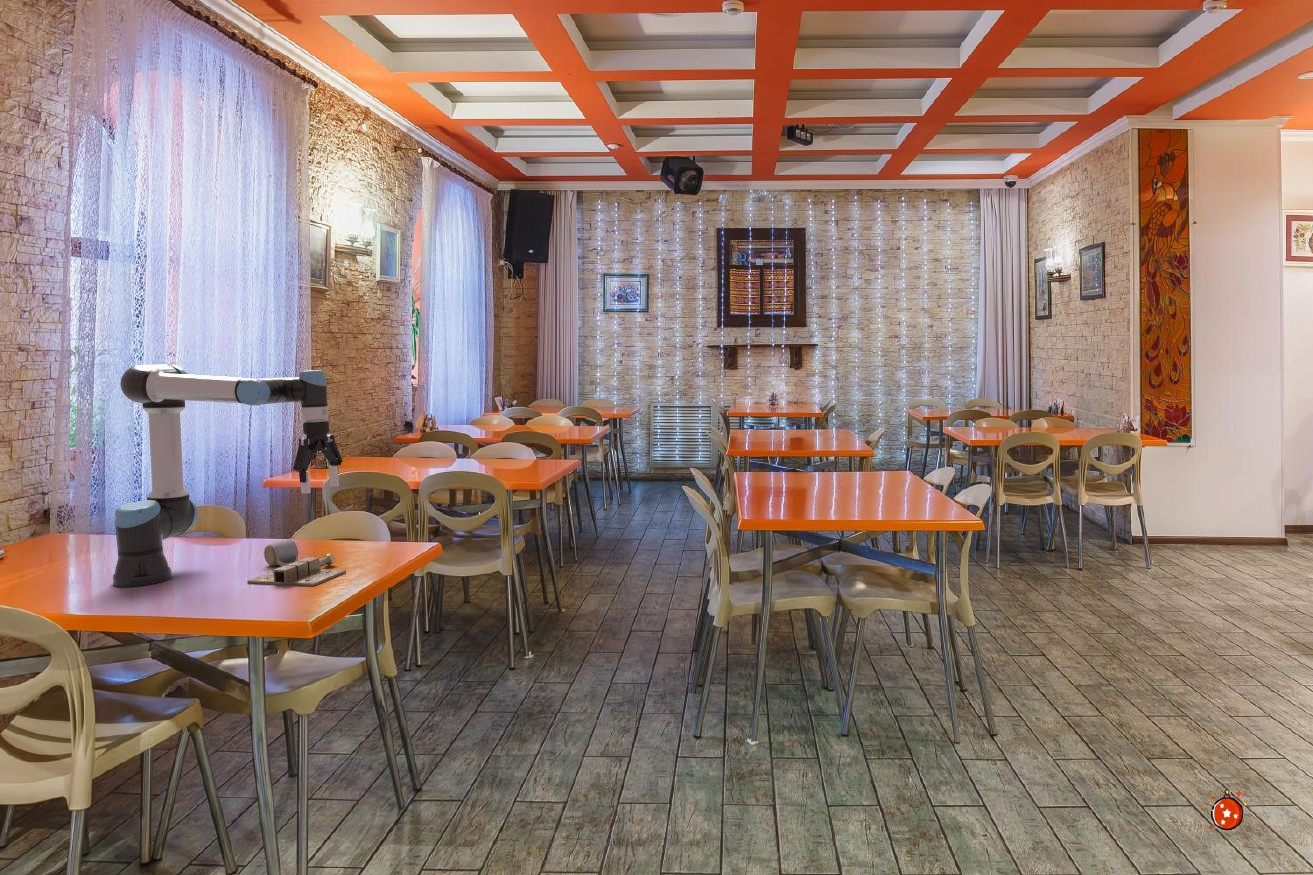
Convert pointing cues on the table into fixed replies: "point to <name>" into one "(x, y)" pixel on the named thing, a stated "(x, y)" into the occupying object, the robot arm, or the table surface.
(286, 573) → the hinge
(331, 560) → the pin
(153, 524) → the robot arm
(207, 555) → the table surface
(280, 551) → the ceramic mug
